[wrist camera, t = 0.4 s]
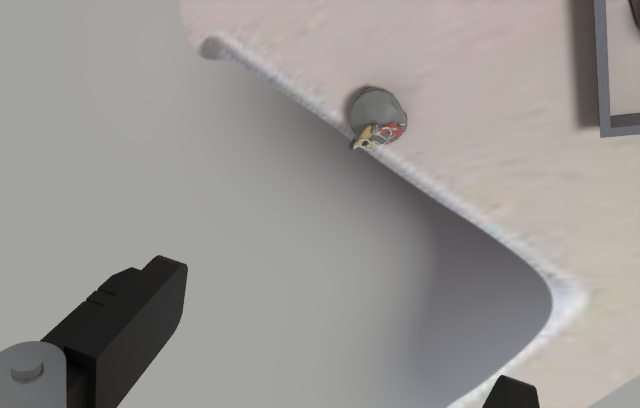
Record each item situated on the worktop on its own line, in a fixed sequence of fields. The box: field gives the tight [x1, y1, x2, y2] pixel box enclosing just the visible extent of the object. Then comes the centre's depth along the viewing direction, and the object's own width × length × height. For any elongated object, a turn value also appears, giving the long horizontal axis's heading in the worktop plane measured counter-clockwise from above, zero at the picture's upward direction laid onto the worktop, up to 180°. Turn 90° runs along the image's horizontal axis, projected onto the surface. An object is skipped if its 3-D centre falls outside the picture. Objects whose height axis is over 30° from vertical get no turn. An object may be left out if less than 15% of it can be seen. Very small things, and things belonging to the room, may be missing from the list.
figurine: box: [350, 87, 407, 151], centre depth 40 cm, size 5×4×6 cm
